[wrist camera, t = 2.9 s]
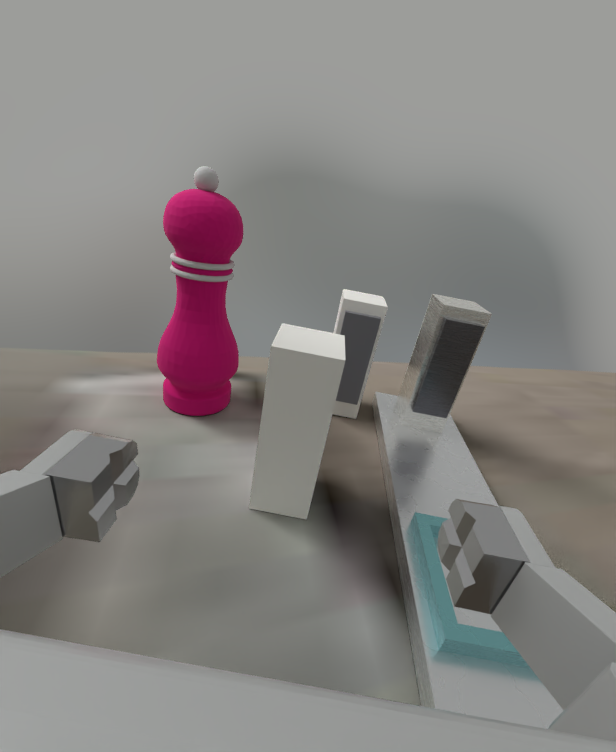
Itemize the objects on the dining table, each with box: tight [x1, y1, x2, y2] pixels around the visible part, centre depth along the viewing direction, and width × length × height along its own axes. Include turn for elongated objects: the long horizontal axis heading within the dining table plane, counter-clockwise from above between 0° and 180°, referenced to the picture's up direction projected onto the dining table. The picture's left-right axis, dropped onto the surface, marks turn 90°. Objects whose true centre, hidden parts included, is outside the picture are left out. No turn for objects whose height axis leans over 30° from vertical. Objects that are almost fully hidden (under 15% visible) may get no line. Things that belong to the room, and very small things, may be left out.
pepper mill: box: [157, 166, 243, 416], centre depth 30 cm, size 7×7×20 cm
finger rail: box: [372, 294, 564, 729], centre depth 24 cm, size 8×28×14 cm, turn 175°
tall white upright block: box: [249, 324, 345, 520], centre depth 23 cm, size 4×5×12 cm
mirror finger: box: [333, 289, 388, 419], centre depth 35 cm, size 4×5×12 cm
